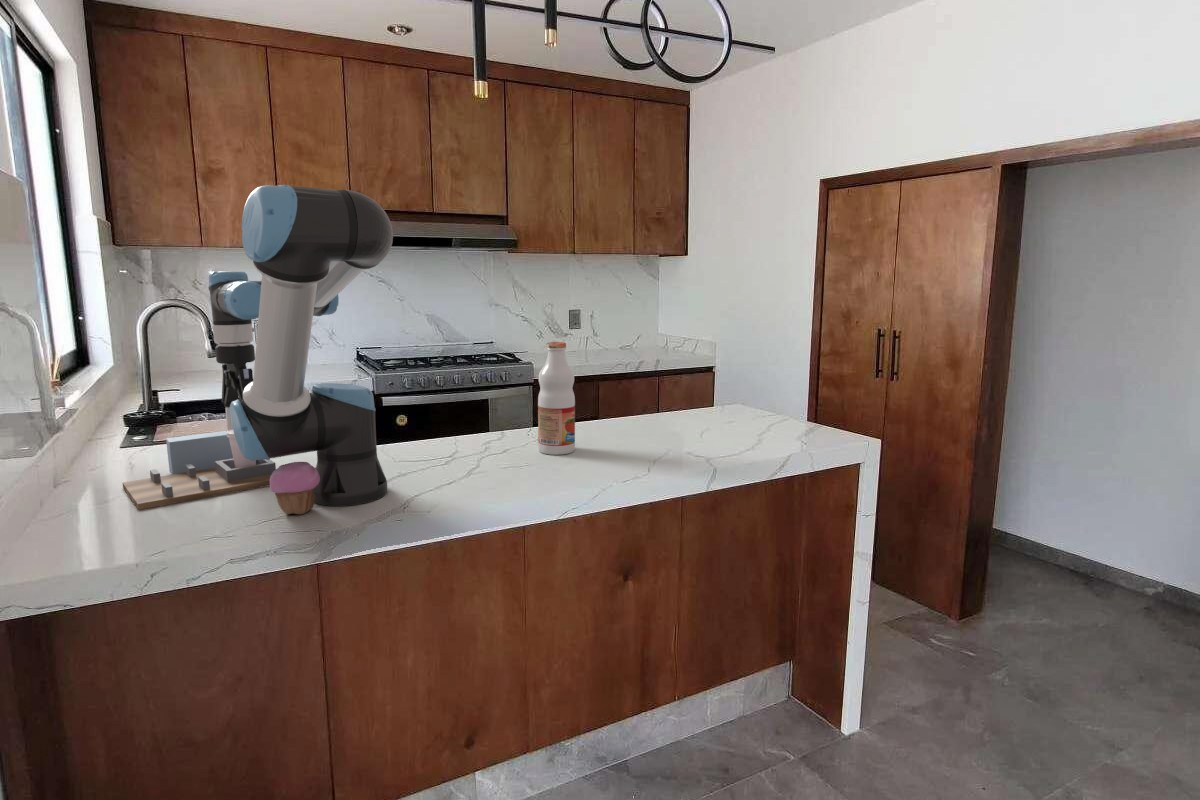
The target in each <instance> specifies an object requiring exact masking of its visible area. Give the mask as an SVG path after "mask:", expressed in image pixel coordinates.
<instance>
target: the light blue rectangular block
mask: <svg viewBox="0 0 1200 800" xmlns="http://www.w3.org/2000/svg"><path fill="white" fill-rule="evenodd" d="M165 441H166V451H167V461H168V468H169V473H170V475H172V474H178V473H184V472H186V471H185V465H186V464H192V465H193V466H194V467H195V470H196V471H197V470H203V469H209V468H215V461H220V460H226V459H233V454H232V450H231V446H230V441H229V437H227V430H221V431H213V432H206V433H199V434H198V433H197V434H191V435H190V434H189V435H183V436H175V437H166V438H165Z"/></svg>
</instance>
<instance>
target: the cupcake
mask: <svg viewBox="0 0 1200 800" xmlns="http://www.w3.org/2000/svg"><path fill="white" fill-rule="evenodd" d="M319 482H320V476H319V473H318V471H317V470H316V467H314V466H313V465H312V464H311V463H310V462H308V461H294V462H288V463H285V464H281V465H279V466H278V467H277V468H276V470H274V471H273V473H272V475H271V477H270V486H269V488H270V490H271V492H272V493H274V494H275V498H276V500H277V502H278V503H277V504H278V506H279V508H280V510H282V512H283V513H284V514H285V515H291V514H295V515H304V514H306V513H308V512H309V511H311V510H312V509H313V508H314V506H315V502H314V489H315V487H316V486H317V485H318V484H319Z"/></svg>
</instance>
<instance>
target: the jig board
mask: <svg viewBox="0 0 1200 800" xmlns="http://www.w3.org/2000/svg"><path fill="white" fill-rule="evenodd" d="M201 476H205V477H206V478H207V479H208V480H209V483H210V490H205V491H203V490H202V489H201V488H200V487H199V482H198V477H201ZM270 477H271V475H267V476H261V477H255V478H250V479H244V480H238V481H233V482H227V481H226V480H224V479H223V478H222V477H221V476H220V475H218V474H217V473H216V471H215V468H209V469H203V470H197V471H196V477H189V476H188V475H187V474H186V472H184V473H178V474H167V475H160V478H161V482H160V483H154V482H153V481H152V480H151V477H148V478H142V479H141V478H140V479H135V480H130V481H125V482H124V481H123V482H121V483H122V489H123V490H124V492H125V493H126V494H127V496H128V498H129V499H130V501H131V502H132V503H133V504H134V506H135V507H136V509H137V510H140V511H141V510H145V509H151V508H156V507H161V506H166V505H171V504H177V503H184V502H188V501H189V502H190V501H194V500H199V499H204V498H205V499H206V498H211V497H215V496H216V497H217V496H222V495H226V494H227V495H228V494H232V493H237V492H242V491H248V490H253V489H259V488H265V487H270ZM165 482H168V483H169V484H170V485H171V486H172V489H173V496H171V497H166V496H165V495H164V494H163V493H162V486H161V483H165Z"/></svg>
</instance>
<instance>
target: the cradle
mask: <svg viewBox="0 0 1200 800" xmlns="http://www.w3.org/2000/svg"><path fill="white" fill-rule="evenodd" d="M276 467H277V466H276V462H275V461H273V460H272V459H271V458H270V459H269V460H267V459H263V460H256V465H251V466H245V467H239V468H235V463H234V459H226V460H220V461H215V471H216V473H217V474H218V475H220V476H221V477H222V478H223V479H224V480H226V481H227V482H233V481H238V480H244V479H250V478H255V477H261V476H267V475H272V473H273V471H274V470H276V469H277V468H276Z"/></svg>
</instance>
